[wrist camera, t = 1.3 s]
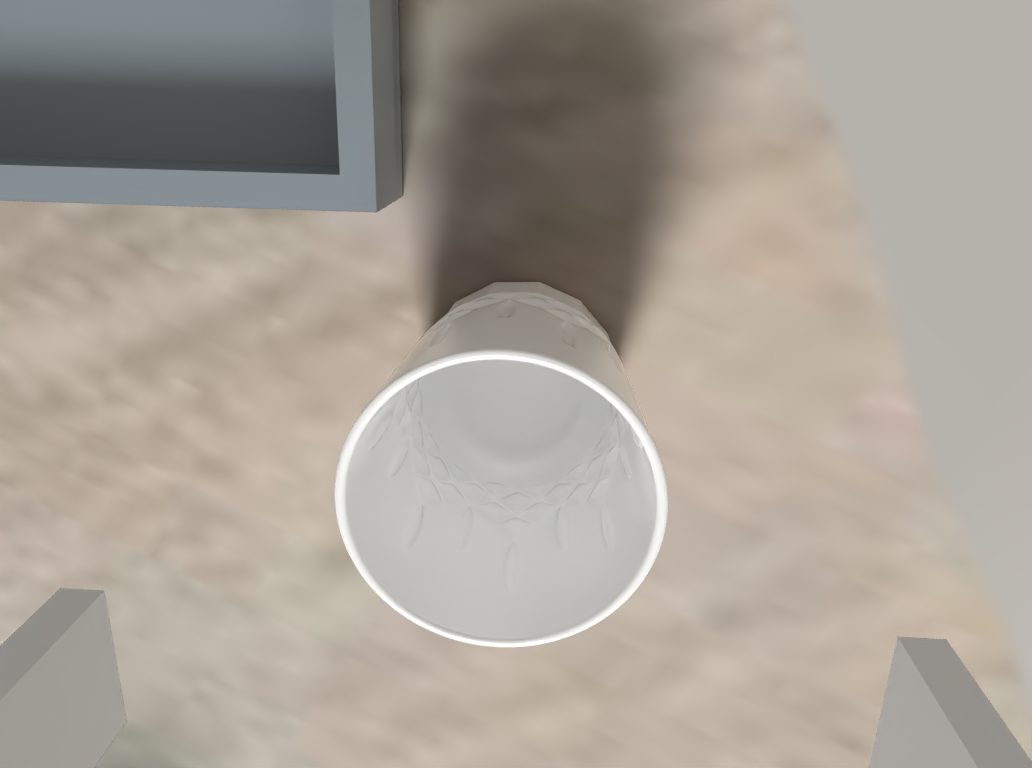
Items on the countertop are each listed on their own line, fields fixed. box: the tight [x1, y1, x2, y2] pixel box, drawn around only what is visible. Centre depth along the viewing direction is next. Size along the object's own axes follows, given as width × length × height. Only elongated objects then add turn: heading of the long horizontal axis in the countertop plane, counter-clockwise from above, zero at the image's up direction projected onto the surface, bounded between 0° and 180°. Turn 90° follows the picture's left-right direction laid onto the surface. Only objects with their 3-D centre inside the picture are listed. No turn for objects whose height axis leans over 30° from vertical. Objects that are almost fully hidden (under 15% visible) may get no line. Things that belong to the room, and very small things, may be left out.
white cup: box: [335, 282, 668, 647], centre depth 24 cm, size 8×8×10 cm
